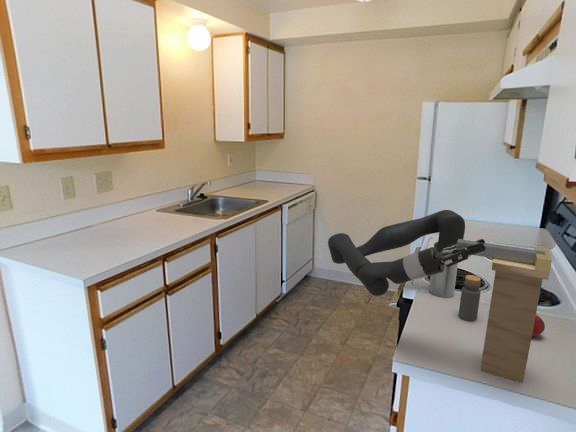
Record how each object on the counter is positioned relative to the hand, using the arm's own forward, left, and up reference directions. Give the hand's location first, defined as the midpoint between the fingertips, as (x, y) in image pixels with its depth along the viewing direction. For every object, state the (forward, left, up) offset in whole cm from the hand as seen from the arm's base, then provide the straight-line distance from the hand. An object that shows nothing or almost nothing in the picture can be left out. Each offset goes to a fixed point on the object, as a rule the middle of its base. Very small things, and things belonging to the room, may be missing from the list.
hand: (484, 244), depth 100 cm
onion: (-24, +17, -35) cm, 46 cm away
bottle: (-26, -2, -35) cm, 44 cm away
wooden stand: (0, +9, -35) cm, 36 cm away
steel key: (0, +4, -3) cm, 5 cm away
